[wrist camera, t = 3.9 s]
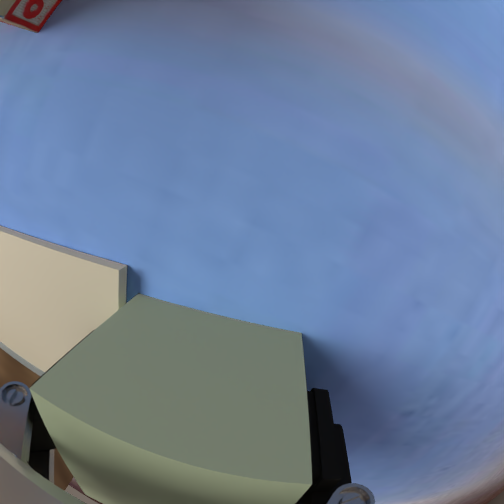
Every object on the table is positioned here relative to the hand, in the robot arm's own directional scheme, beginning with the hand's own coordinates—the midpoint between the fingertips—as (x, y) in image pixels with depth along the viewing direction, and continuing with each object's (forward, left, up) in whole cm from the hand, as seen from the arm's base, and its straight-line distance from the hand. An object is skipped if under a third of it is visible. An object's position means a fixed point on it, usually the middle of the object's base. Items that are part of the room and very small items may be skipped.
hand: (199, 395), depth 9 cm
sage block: (0, 0, -1) cm, 1 cm away
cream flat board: (+10, +5, -1) cm, 12 cm away
